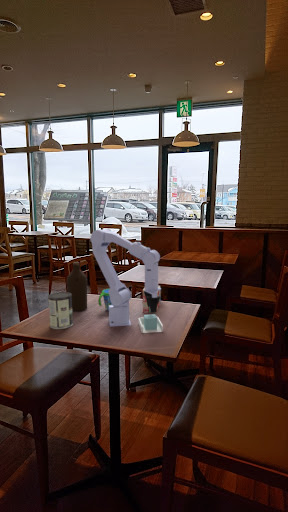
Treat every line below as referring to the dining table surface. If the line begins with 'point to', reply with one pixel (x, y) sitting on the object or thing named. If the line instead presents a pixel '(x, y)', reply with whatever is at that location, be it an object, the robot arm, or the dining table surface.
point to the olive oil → (77, 288)
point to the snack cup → (105, 299)
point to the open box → (159, 329)
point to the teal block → (150, 322)
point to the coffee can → (60, 310)
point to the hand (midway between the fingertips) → (151, 309)
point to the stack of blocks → (145, 307)
